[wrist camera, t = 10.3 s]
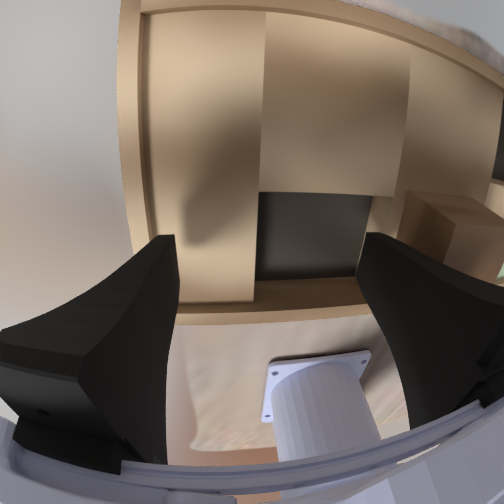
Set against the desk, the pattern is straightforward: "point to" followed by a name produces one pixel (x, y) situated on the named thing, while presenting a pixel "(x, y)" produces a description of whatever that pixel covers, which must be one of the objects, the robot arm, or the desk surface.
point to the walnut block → (454, 232)
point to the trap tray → (291, 145)
